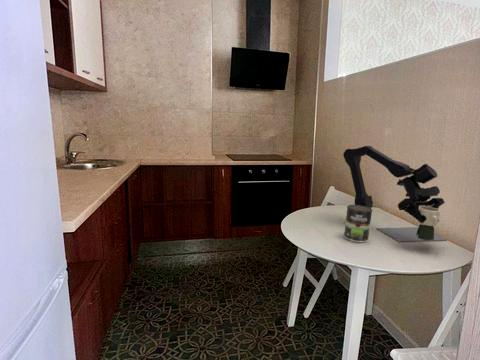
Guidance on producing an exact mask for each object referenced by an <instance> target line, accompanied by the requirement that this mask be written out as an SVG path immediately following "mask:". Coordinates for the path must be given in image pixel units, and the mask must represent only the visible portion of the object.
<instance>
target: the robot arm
mask: <svg viewBox="0 0 480 360" xmlns="http://www.w3.org/2000/svg"><path fill="white" fill-rule="evenodd" d="M342 156H343V159H344V161H345V163H346V164H347V166H348V167H349V170H350V174H351V178H352V183H353V189H354V192H355V197H354V205H361V206H366V207H369V208H371V209H373V204H374V202H373V198H372V195H368V193H367V192H366V187H365V183H364V179H363V173H362V169H361V165H360V164H361V160H362V157H363V156H367V157H369V158H370V159H373V160H374V161H375V162H377V163H378V164H380V165H382V166H383V167H385V168H386V169H387V171H388V173H390V174H391V175H392V176H394V177H395V178H397V179H398V181H397V183H396V186H400V187H403V188H404V191H405V192H406V194H405V197H406V198H403V199H402V200H401V201H399V202H398V203H397V208H398V210H399V211H404V213H407V214H409V215H410V216H411V217H413V218H414V219H415V220H417V222H418V221H419V222H421V223H424V220H423V218H422V215H421V213H420V211H419V209H420V207H421V206H427V207H433V208H437V209H439V208H440V207H441V206H442V205H444V204H445V203H446V202H445V201H444V199H443V198H442V197H437V196H438V195H440V193H441V190H440V189H439V187H438V185H436V186H435V185H434V186H430V187H426V188H424V187H422V186H420V184H423V185H425V184H426V183H428V182H430V181H433V180H434V179H436V178H437V177H438V173H437V172H436V170H435V169H434V168H433V167H431V166H430V165H429V164H428V163H424V164H422V165H420V167H418V168H416V169H415V168H412V167H411V166H410V165H409V164H407V163H404V162H401V161H397V160H394V159H393V158H391V157H389V156H387V155H386V154H384V153H382V152H381V151H379V150H378V149H376V148H374V147H373V146H371V145H364V146H361V147H357V148H346V149H345V150H344V152H343V154H342ZM400 178H402V179H400ZM431 197H433V198H431ZM419 222H418V223H419ZM421 223H420V224H421ZM438 223H440V220H439V221H438Z"/></svg>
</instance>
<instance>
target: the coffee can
mask: <svg viewBox="0 0 480 360" xmlns="http://www.w3.org/2000/svg"><path fill="white" fill-rule="evenodd" d="M346 208H347V210H346V216H345V225H344V234H343V237H344V238H345V239H346V240H348V241H349V242H350V241H351V242H353V243H367V242H369V235H370V228H371V223H372V221H371V220H372V213H373V208H369V207H366V206H361V205H355V204H348V205H347V206H346Z"/></svg>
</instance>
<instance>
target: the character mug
mask: <svg viewBox="0 0 480 360" xmlns="http://www.w3.org/2000/svg"><path fill="white" fill-rule="evenodd" d="M419 211H420V213H421V215H422V218H423V220H424V223H421V222H419V221H418V220H417V223H419V225H418V227H419V228H418V230H417V234H416V236H417V235H418V238H420V239H423V240H434V234H435V227H436V226H438V224H439V222H440V213H441V209H439V208H438V209H437V208H433V207H427V206H419ZM438 221H439V222H438Z"/></svg>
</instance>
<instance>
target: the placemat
mask: <svg viewBox="0 0 480 360" xmlns="http://www.w3.org/2000/svg"><path fill="white" fill-rule="evenodd" d="M418 228H419V226H414V227H413V226H412V227H408V226H407V227H376V230H377V231H379V232H380V233H382V234H384V235H385V236H388V237H389V238H391V239H393V240H395V241H396V242H398V243H417V242H418V243H419V242H420V243H422V242H424V243H426V242H447V240H448V239H446V238H444V237H442V236H440V235H438V234H436V233H434V240H423V239H420V238H418V235H417V236H416V234H417V230H418Z"/></svg>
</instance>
